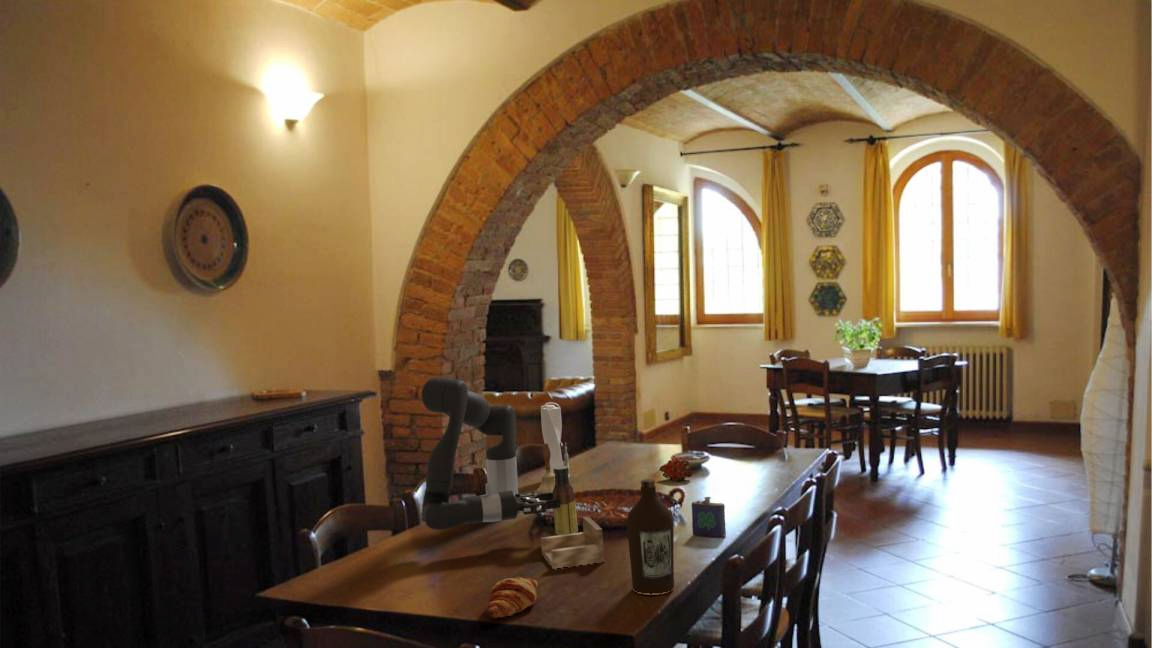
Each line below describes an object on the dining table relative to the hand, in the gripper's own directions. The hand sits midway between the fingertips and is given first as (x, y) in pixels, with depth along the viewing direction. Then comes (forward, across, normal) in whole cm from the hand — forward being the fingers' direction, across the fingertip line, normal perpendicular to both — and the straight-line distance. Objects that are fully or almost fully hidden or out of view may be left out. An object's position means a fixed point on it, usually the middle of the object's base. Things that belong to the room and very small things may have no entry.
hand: (556, 499), depth 253 cm
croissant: (-21, -46, +11) cm, 51 cm away
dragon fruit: (+53, +50, +11) cm, 74 cm away
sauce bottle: (+2, 0, +11) cm, 11 cm away
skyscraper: (+16, +71, +11) cm, 74 cm away
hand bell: (+10, +56, +11) cm, 59 cm away
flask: (+38, -14, +11) cm, 42 cm away
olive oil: (+11, -48, +11) cm, 50 cm away
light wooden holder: (-1, -18, +11) cm, 21 cm away
